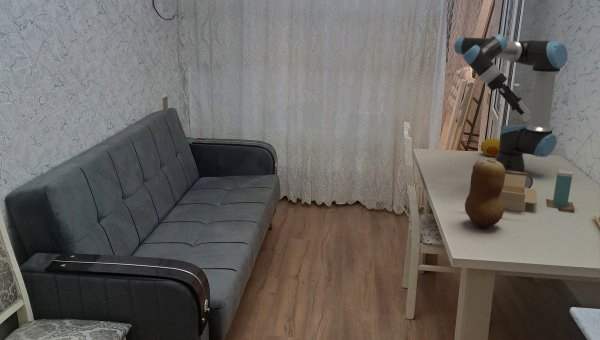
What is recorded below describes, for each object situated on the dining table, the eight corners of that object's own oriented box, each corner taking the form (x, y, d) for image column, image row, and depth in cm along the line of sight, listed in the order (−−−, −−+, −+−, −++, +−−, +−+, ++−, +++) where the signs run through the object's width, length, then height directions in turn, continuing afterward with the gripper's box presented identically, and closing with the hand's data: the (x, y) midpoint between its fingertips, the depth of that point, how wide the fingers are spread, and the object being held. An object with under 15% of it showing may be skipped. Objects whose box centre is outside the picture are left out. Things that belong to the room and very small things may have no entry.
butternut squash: (508, 230, 187) (517, 164, 180) (476, 234, 184) (484, 166, 177) (485, 217, 200) (492, 154, 193) (454, 220, 196) (461, 156, 189)
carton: (472, 209, 209) (475, 187, 206) (478, 190, 232) (480, 171, 229) (535, 218, 200) (538, 195, 197) (534, 198, 223) (537, 177, 221)
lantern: (525, 139, 285) (469, 133, 299) (522, 146, 278) (465, 140, 292) (523, 155, 290) (468, 148, 304) (520, 163, 282) (464, 155, 296)
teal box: (553, 205, 211) (558, 172, 207) (552, 201, 215) (557, 169, 211) (567, 207, 209) (572, 174, 205) (566, 203, 213) (571, 170, 210)
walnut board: (546, 209, 210) (546, 206, 210) (545, 201, 219) (546, 198, 218) (574, 212, 206) (574, 210, 206) (572, 205, 215) (572, 202, 215)
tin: (531, 190, 234) (534, 172, 231) (531, 192, 231) (534, 174, 229) (496, 186, 238) (498, 168, 236) (496, 188, 236) (498, 170, 233)
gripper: (487, 81, 226) (520, 117, 224) (483, 87, 204) (520, 128, 202) (502, 69, 222) (535, 106, 221) (499, 74, 200) (536, 116, 199)
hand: (528, 117), depth 212 cm, fingers open, 13 cm apart
